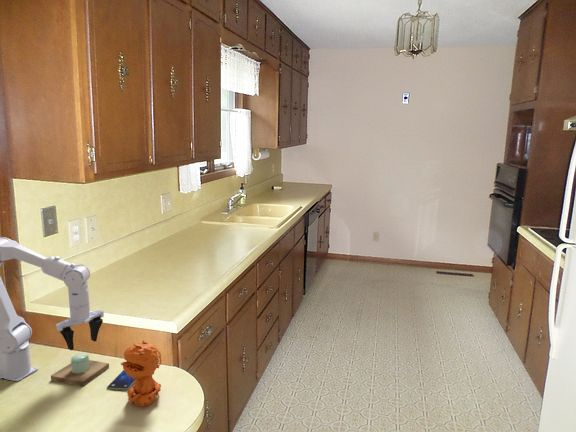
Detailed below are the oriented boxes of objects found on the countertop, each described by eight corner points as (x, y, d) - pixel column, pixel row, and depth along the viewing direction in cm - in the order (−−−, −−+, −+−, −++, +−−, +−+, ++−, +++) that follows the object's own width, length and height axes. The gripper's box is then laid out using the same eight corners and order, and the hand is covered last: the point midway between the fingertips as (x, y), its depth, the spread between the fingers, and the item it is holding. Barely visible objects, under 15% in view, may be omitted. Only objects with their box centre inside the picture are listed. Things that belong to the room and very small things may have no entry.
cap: (90, 370, 141) (89, 358, 141) (73, 374, 139) (72, 362, 138) (88, 364, 146) (87, 352, 145) (71, 368, 143) (70, 355, 142)
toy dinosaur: (122, 394, 131) (118, 337, 128) (160, 386, 135) (157, 331, 132) (124, 415, 121) (120, 353, 118) (165, 406, 125) (162, 346, 122)
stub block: (51, 380, 138) (50, 367, 138) (79, 362, 150) (78, 349, 149) (82, 386, 135) (81, 372, 134) (109, 367, 146) (108, 354, 146)
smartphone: (104, 388, 133) (128, 363, 148) (105, 391, 133) (128, 366, 148) (127, 389, 132) (149, 364, 147) (128, 392, 133) (149, 367, 147)
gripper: (62, 314, 132) (66, 356, 134) (107, 300, 143) (110, 340, 145) (51, 308, 136) (55, 350, 138) (95, 295, 147) (98, 334, 149)
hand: (82, 344), depth 142 cm, fingers open, 7 cm apart
